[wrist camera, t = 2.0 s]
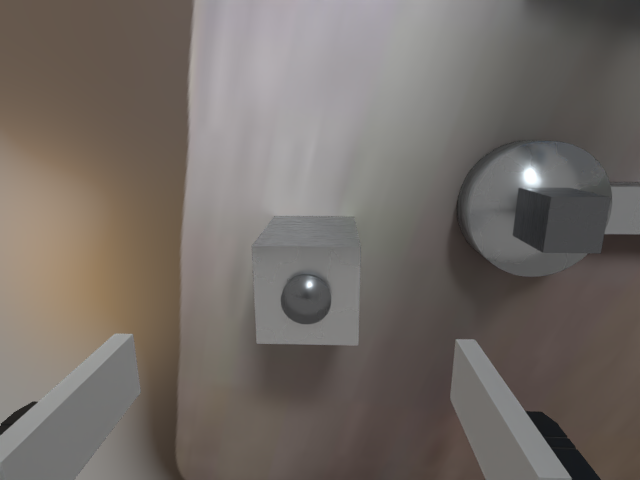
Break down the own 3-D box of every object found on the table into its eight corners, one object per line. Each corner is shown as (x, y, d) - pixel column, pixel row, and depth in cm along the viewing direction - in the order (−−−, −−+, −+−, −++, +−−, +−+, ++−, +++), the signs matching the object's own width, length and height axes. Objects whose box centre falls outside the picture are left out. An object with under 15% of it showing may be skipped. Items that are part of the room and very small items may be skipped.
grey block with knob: (274, 216, 30) (249, 248, 21) (354, 216, 29) (361, 249, 21) (276, 290, 31) (254, 348, 23) (352, 291, 31) (359, 351, 22)
